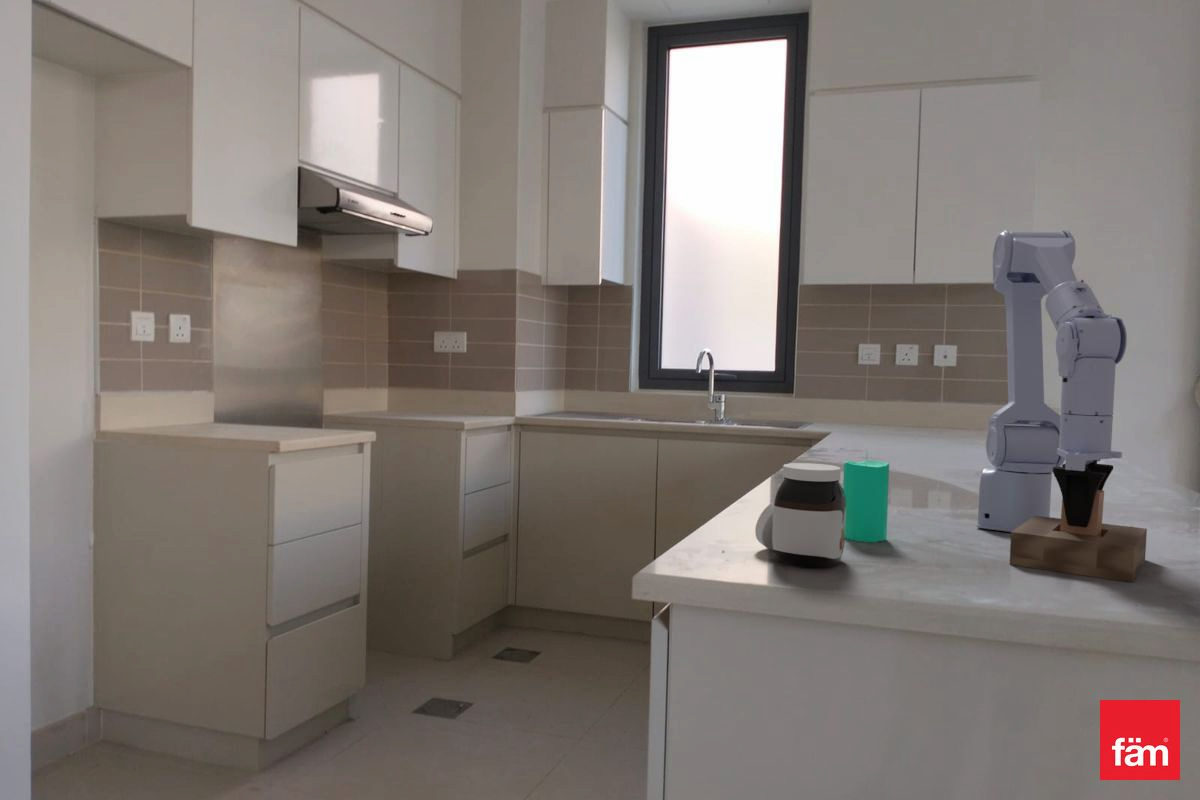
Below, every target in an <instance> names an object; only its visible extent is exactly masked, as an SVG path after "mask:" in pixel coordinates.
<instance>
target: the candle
mask: <svg viewBox="0 0 1200 800" xmlns="http://www.w3.org/2000/svg"><path fill="white" fill-rule="evenodd" d="M889 475H890V462H885V461H880V460H868V451H866V452H865V460H863V461H859V462H858V461H857V462H855V461H851V460H847V461H845V462H844V464H843V479H842V481H843V482H842V483H843V485H842V488H843V490H844V493H845V496H846V528H845V538H846V539H845V540H849V539H850V541H853V540H855V541H854V542H861V541H862V542H861V543H878V542H877V541H882V542H884V541H883V540H885V539H886V540H887V530H888V508H889V503H888V502H889V482H890V481H889V480H890V479H889V478H890V476H889ZM886 540H885V541H886ZM863 541H864V542H863Z"/></svg>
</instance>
